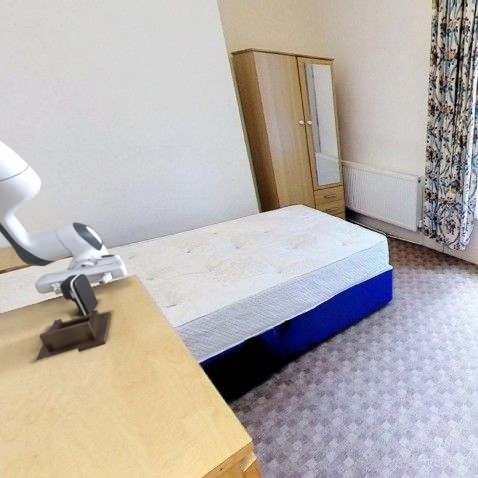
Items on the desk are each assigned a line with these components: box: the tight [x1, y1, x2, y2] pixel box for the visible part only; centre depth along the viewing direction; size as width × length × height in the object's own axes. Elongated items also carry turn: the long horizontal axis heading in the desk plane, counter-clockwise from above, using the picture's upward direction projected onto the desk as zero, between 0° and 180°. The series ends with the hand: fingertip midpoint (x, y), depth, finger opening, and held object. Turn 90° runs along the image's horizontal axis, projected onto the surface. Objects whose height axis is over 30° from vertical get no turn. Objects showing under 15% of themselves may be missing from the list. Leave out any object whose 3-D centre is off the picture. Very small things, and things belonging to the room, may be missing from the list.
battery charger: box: [60, 274, 99, 317], centre depth 93 cm, size 7×4×11 cm, turn 25°
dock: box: [35, 309, 112, 361], centre depth 84 cm, size 12×15×6 cm
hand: (80, 287), depth 97 cm, fingers open, 8 cm apart
